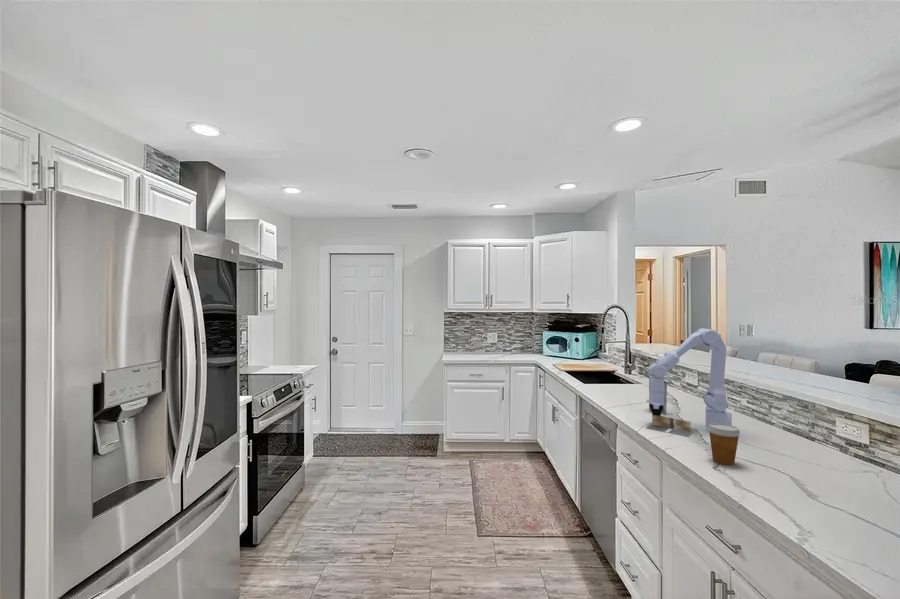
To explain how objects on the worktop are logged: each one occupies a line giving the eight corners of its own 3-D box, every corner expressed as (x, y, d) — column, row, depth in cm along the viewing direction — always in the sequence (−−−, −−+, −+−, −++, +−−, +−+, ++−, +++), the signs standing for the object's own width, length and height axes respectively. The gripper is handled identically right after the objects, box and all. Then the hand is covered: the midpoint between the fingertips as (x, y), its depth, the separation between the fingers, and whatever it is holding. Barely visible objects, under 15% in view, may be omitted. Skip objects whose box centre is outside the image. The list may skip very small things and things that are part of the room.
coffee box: (648, 409, 220) (648, 378, 220) (661, 410, 218) (662, 379, 218) (653, 414, 211) (653, 381, 211) (667, 415, 209) (667, 382, 209)
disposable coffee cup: (737, 459, 150) (737, 425, 150) (742, 468, 141) (743, 432, 141) (705, 455, 154) (706, 421, 154) (709, 463, 145) (709, 428, 145)
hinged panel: (673, 427, 185) (674, 417, 185) (673, 428, 183) (673, 418, 183) (652, 424, 189) (652, 414, 189) (652, 425, 188) (652, 415, 188)
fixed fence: (690, 431, 180) (690, 421, 180) (689, 432, 179) (689, 422, 179) (675, 428, 184) (675, 418, 184) (674, 429, 183) (674, 419, 183)
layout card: (697, 430, 184) (697, 429, 184) (688, 438, 173) (688, 436, 173) (655, 422, 195) (655, 421, 195) (644, 429, 184) (644, 428, 184)
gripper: (647, 387, 197) (646, 416, 197) (646, 392, 184) (645, 424, 184) (664, 389, 194) (664, 419, 194) (664, 395, 181) (663, 427, 181)
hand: (656, 421), depth 189 cm, fingers closed, pressing on hinged panel
